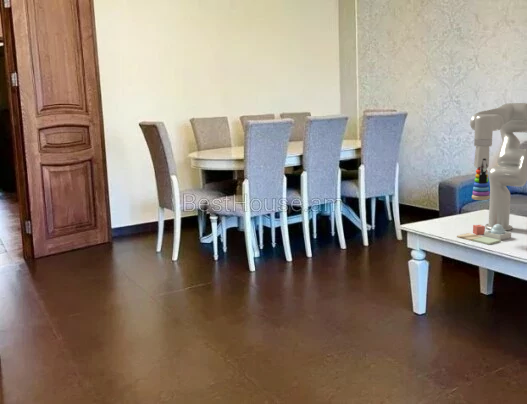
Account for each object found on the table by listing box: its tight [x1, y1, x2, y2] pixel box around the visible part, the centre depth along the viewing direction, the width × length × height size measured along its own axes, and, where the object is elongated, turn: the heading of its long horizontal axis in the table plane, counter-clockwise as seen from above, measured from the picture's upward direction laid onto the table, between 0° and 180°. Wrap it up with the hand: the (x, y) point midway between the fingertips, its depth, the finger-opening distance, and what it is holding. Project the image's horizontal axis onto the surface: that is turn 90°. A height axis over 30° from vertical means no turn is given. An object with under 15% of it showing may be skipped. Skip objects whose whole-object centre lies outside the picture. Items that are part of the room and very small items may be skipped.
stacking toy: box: [471, 167, 490, 201], centre depth 250 cm, size 8×8×19 cm
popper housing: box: [483, 229, 512, 241], centre depth 258 cm, size 9×9×3 cm
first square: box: [456, 232, 484, 242], centre depth 259 cm, size 8×8×1 cm
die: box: [472, 224, 486, 236], centre depth 266 cm, size 4×4×4 cm
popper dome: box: [491, 224, 505, 235], centre depth 257 cm, size 6×6×5 cm
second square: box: [472, 237, 502, 246], centre depth 252 cm, size 8×8×1 cm
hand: (481, 181), depth 250 cm, fingers closed on stacking toy, 5 cm apart
